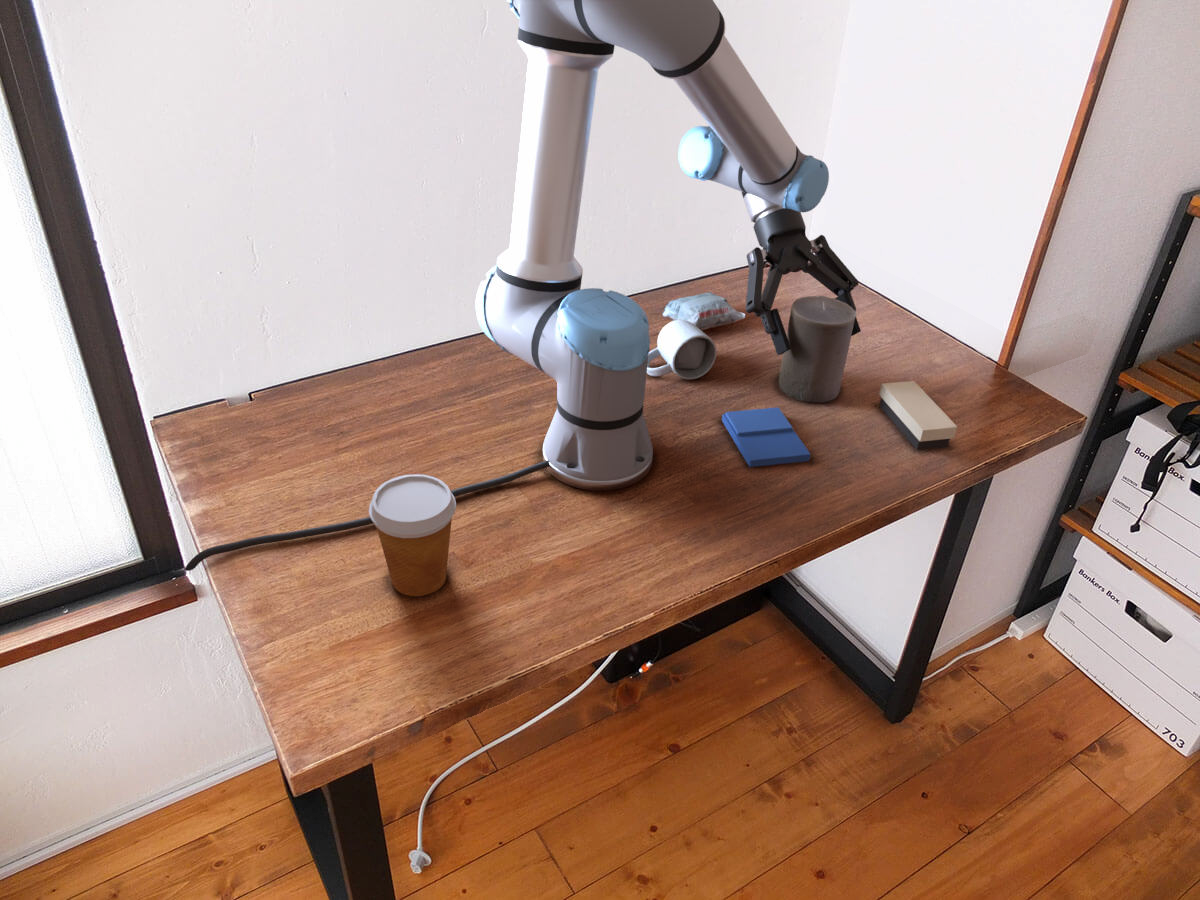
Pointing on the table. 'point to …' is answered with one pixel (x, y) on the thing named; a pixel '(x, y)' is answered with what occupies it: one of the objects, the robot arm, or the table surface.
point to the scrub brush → (916, 415)
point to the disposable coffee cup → (414, 531)
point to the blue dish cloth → (765, 437)
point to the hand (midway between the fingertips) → (819, 343)
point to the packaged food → (703, 310)
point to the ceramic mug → (683, 351)
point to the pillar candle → (816, 348)
